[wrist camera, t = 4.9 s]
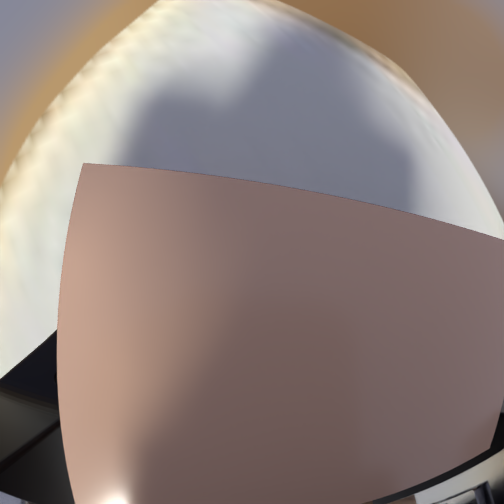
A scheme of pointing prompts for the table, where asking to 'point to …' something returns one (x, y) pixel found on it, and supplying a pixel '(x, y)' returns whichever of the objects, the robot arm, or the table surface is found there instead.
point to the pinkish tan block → (269, 343)
